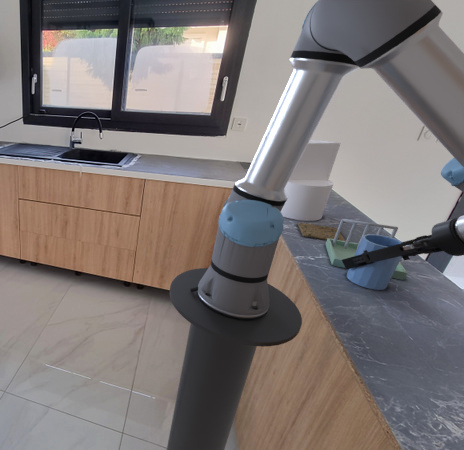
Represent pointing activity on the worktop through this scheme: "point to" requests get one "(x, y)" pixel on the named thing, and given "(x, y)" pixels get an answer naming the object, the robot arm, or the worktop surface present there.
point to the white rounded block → (311, 182)
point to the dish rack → (356, 246)
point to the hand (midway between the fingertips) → (358, 262)
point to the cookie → (319, 231)
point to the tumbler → (378, 271)
